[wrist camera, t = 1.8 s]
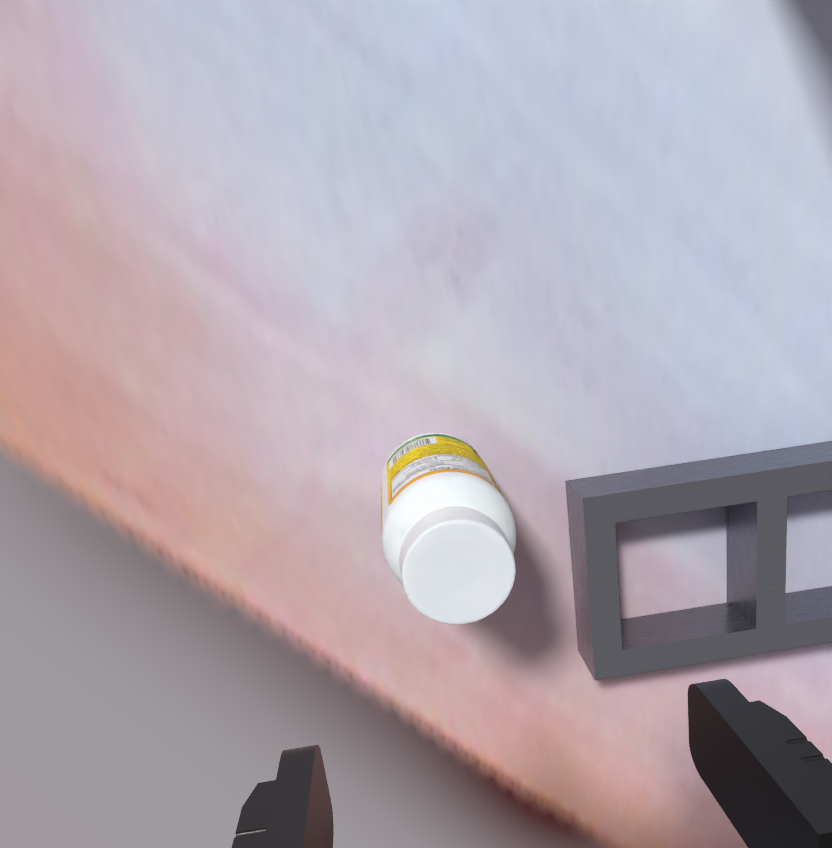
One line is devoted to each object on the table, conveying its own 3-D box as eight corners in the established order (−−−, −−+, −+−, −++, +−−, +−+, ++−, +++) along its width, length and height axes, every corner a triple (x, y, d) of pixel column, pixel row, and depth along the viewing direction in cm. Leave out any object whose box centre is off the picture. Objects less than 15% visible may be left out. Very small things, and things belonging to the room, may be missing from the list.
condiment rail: (565, 480, 30) (582, 498, 27) (911, 429, 30) (958, 441, 28) (578, 650, 32) (595, 680, 29) (899, 599, 33) (941, 624, 30)
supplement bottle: (401, 415, 28) (412, 478, 19) (501, 449, 29) (560, 525, 20) (366, 513, 29) (360, 619, 20) (463, 543, 30) (502, 658, 21)
